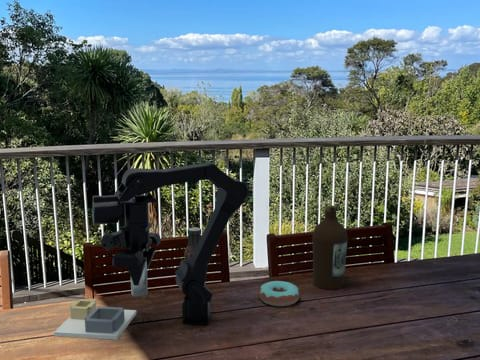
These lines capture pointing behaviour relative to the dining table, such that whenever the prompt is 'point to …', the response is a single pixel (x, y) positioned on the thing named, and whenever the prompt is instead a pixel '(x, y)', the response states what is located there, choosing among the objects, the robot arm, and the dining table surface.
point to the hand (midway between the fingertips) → (139, 281)
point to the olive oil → (329, 251)
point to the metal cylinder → (140, 284)
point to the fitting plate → (95, 321)
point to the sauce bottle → (192, 242)
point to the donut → (279, 293)
